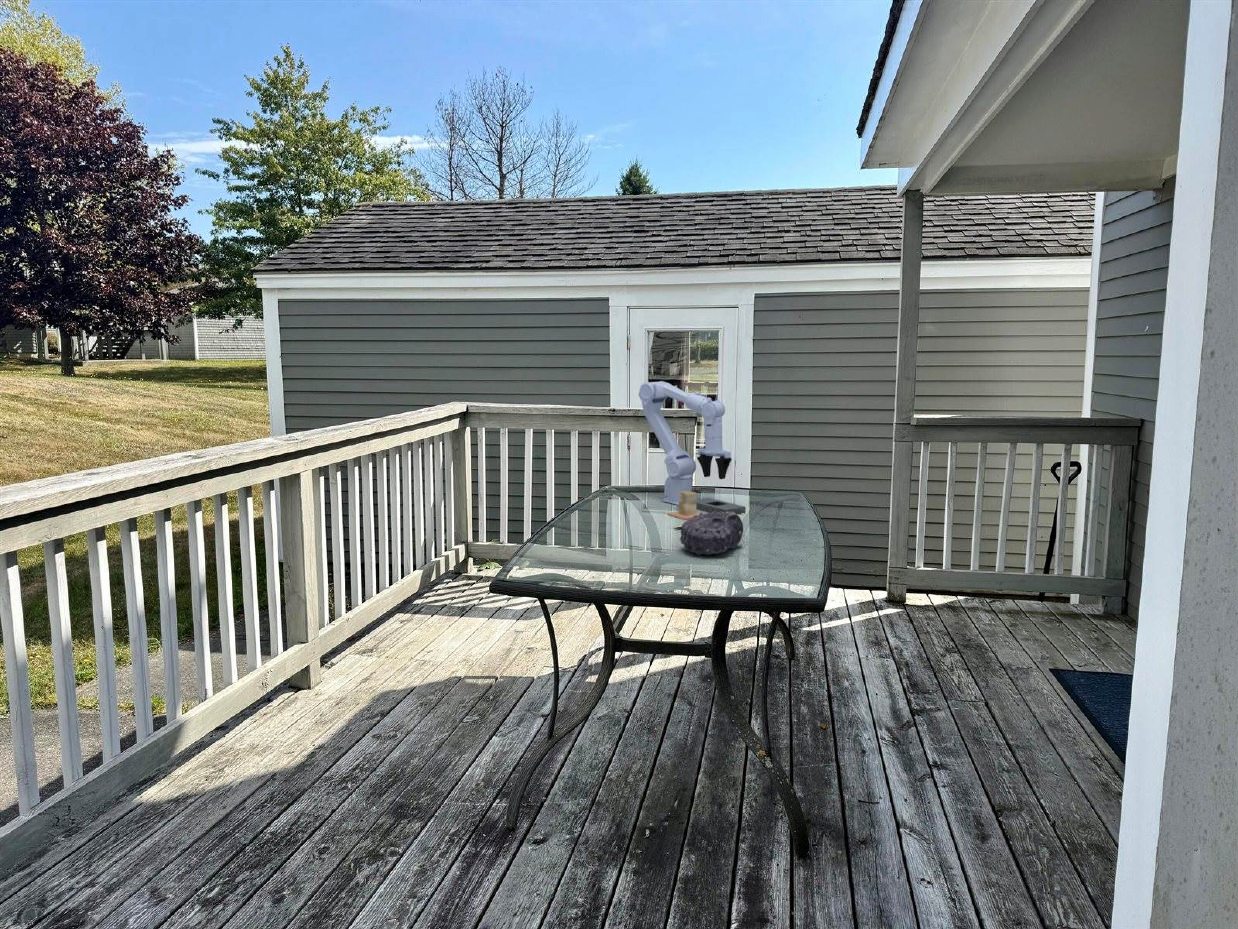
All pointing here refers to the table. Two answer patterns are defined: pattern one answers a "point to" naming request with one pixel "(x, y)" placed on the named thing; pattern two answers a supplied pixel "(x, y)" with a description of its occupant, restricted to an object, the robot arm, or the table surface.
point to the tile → (680, 516)
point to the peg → (687, 503)
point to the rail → (718, 506)
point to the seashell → (712, 532)
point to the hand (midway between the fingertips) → (714, 477)
